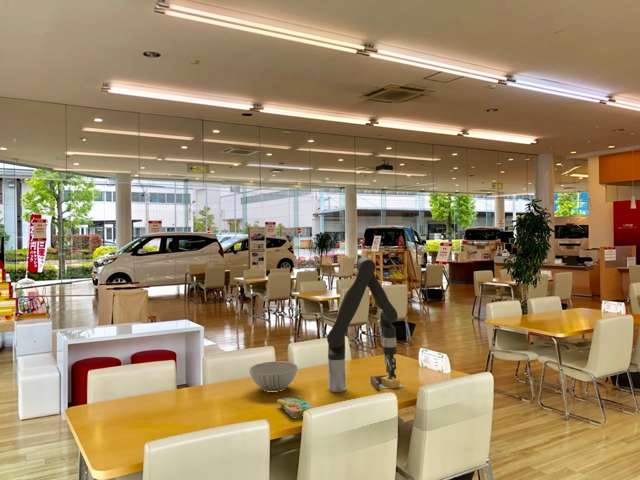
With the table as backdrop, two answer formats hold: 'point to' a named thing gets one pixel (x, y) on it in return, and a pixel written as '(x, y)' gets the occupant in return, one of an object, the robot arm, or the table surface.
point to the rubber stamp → (390, 380)
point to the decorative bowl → (273, 375)
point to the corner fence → (377, 380)
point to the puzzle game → (294, 406)
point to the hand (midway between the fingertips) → (390, 374)
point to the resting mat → (387, 387)
